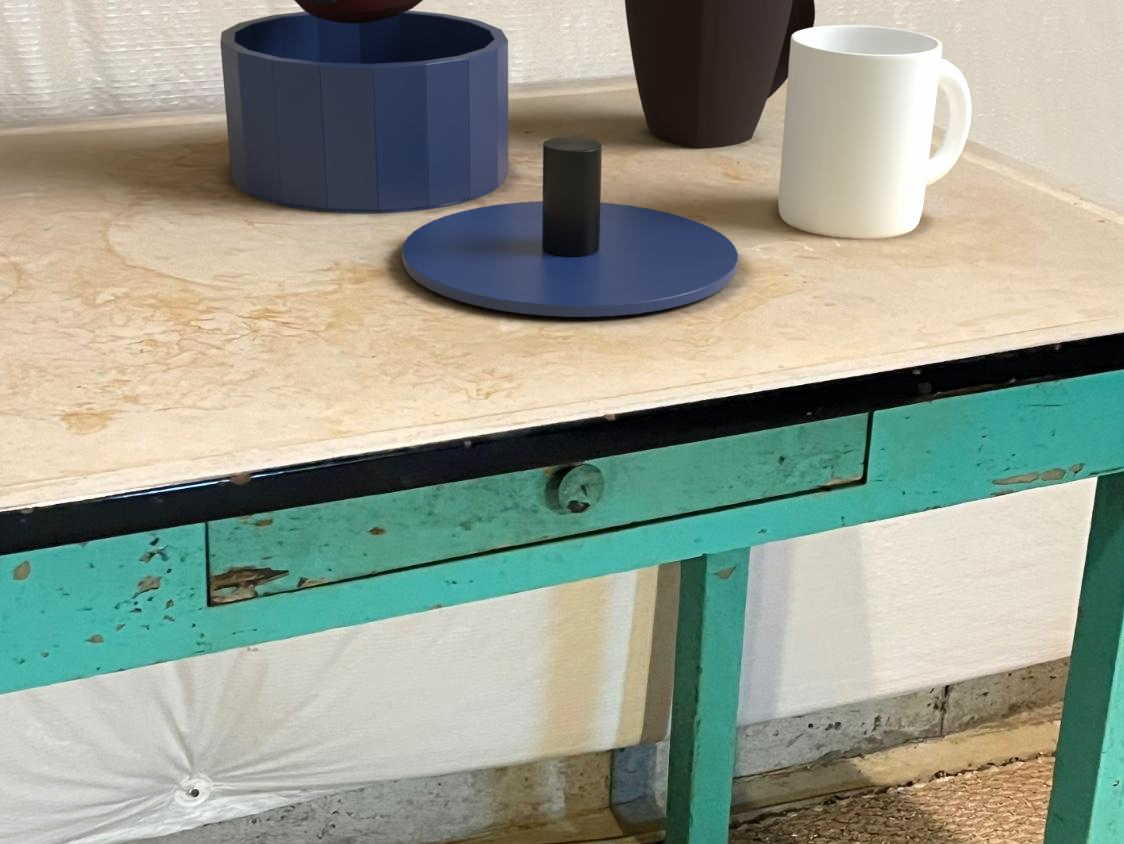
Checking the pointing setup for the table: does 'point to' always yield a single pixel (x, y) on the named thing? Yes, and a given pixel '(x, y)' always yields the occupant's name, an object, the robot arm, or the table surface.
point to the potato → (358, 10)
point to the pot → (366, 111)
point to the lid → (570, 249)
